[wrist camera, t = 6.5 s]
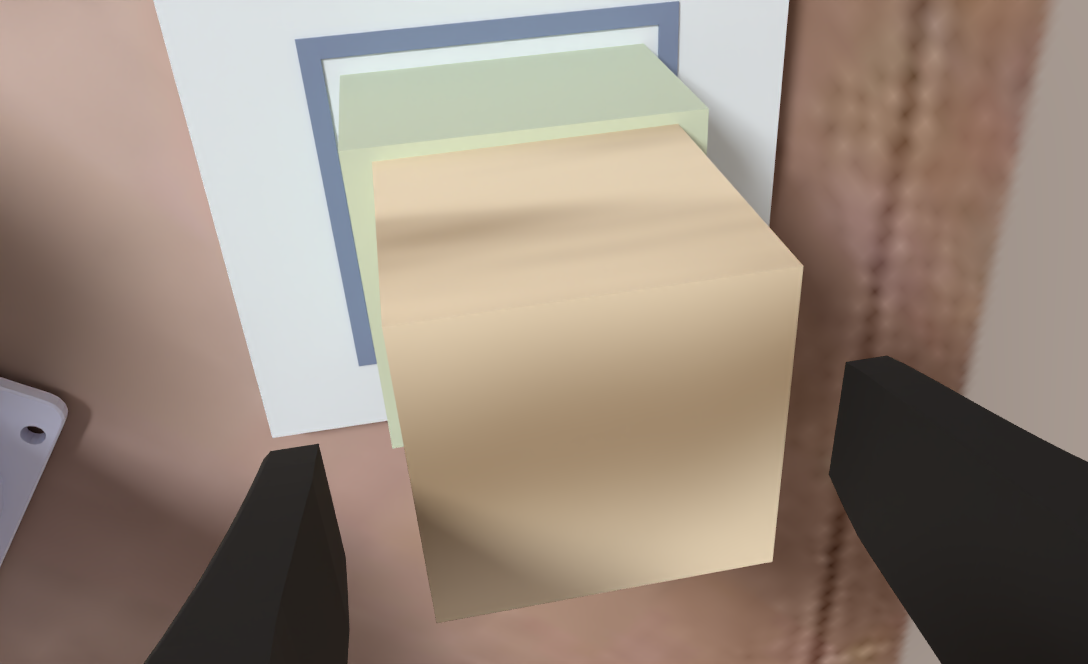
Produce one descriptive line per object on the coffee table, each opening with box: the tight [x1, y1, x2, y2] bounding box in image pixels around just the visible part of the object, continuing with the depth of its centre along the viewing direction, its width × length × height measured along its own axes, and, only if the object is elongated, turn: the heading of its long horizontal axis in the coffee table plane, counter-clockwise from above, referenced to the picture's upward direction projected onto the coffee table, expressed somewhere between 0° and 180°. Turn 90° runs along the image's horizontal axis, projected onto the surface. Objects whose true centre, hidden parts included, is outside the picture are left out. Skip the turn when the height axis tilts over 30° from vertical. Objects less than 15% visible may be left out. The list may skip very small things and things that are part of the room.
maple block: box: [372, 124, 803, 623], centre depth 14 cm, size 5×5×5 cm
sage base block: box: [338, 43, 709, 448], centre depth 18 cm, size 6×6×4 cm
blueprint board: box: [153, 0, 789, 438], centre depth 18 cm, size 18×12×1 cm, turn 3°
